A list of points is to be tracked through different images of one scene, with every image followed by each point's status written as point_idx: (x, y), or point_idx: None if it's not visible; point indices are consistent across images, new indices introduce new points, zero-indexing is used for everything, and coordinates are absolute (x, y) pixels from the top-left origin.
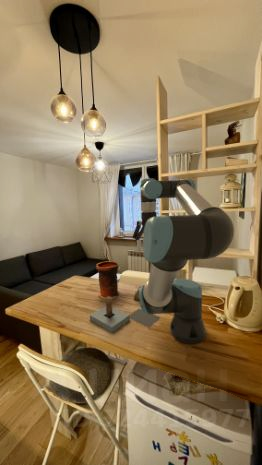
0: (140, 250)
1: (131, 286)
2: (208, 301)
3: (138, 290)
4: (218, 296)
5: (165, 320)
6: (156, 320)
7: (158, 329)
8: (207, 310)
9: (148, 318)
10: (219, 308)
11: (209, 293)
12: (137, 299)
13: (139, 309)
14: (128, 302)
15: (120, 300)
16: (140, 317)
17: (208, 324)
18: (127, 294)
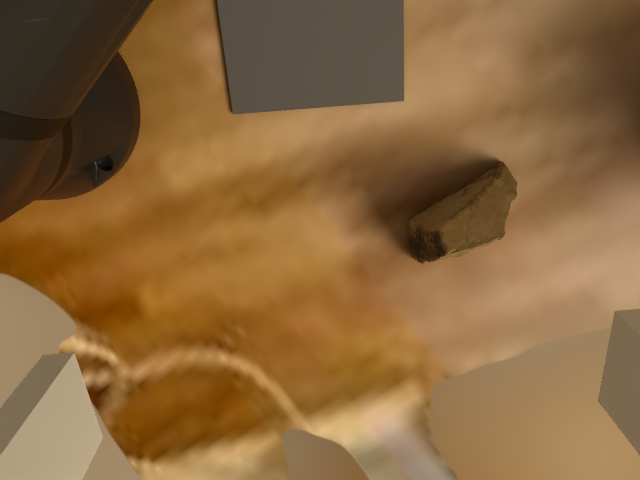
0: (617, 394)
1: (631, 290)
2: (154, 408)
3: (495, 205)
4: (149, 473)
5: (199, 112)
6: (230, 68)
7: (168, 8)
8: (106, 335)
9: (280, 51)
10: None
11: (198, 474)
12: (480, 177)
13: (392, 93)
14: (514, 116)
15: (581, 98)
16: (325, 23)
17: (24, 232)
18: (588, 191)
